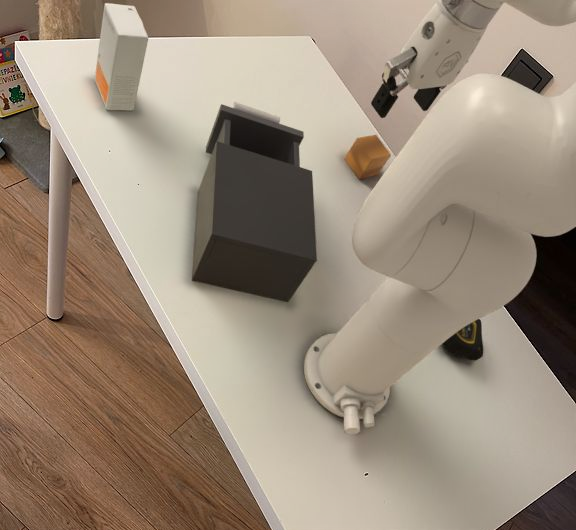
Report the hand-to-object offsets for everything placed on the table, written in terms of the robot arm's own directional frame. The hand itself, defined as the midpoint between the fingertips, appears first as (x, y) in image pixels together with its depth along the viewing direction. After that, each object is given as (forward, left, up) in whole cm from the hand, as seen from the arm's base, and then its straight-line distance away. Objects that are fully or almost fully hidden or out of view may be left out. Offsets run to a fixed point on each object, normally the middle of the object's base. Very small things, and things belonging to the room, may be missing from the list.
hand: (399, 107), depth 92 cm
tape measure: (-32, -14, -12) cm, 37 cm away
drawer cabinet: (-24, +21, -12) cm, 34 cm away
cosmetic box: (-2, +41, -12) cm, 43 cm away
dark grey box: (-13, +21, -11) cm, 27 cm away
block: (0, 0, -12) cm, 12 cm away
